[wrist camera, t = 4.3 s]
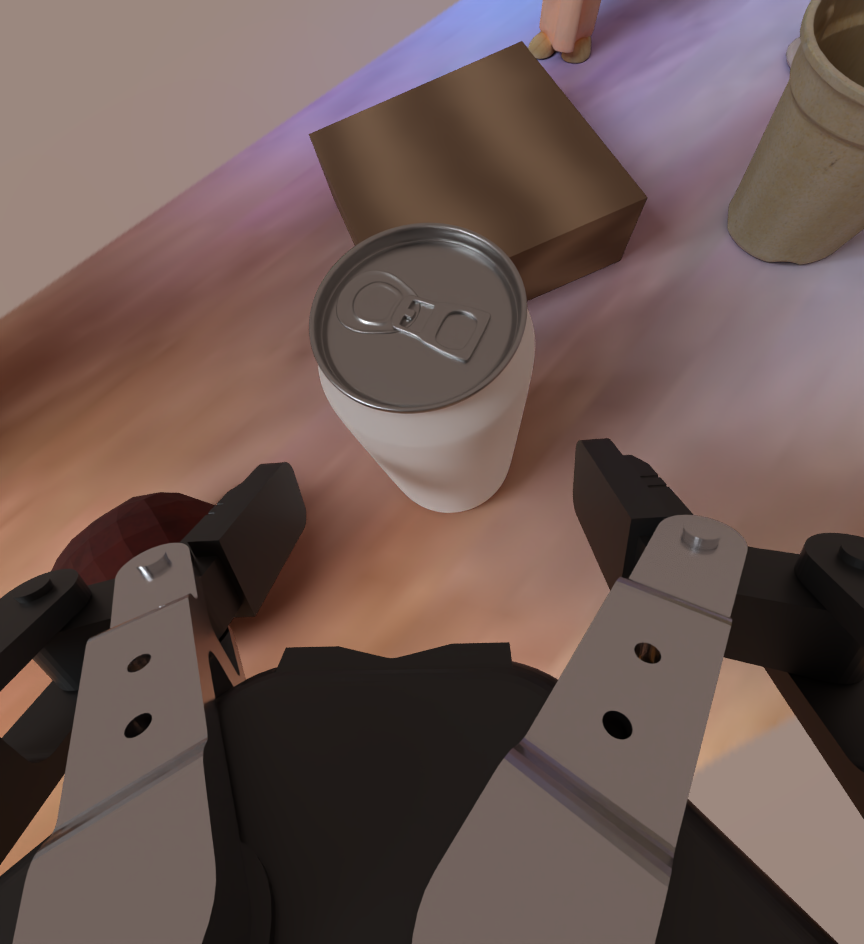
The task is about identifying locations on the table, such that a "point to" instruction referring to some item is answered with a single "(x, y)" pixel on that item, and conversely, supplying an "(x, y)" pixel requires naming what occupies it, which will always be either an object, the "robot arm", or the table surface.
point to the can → (428, 358)
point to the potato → (130, 533)
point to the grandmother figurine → (565, 29)
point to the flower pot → (810, 147)
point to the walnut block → (487, 169)
